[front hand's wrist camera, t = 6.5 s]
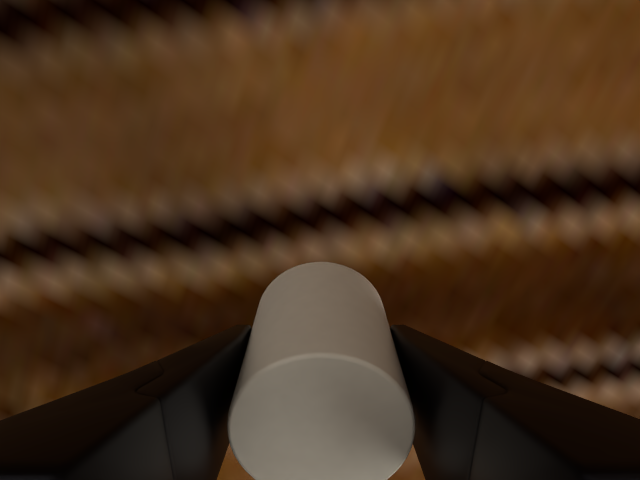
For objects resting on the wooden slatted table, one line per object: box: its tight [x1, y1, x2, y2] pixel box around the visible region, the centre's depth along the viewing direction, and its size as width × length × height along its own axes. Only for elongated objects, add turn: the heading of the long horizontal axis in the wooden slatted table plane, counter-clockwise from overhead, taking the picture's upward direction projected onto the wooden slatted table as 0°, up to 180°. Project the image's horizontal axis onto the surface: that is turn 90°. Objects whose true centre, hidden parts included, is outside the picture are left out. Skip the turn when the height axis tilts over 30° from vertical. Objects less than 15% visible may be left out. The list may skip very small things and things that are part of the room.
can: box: [227, 262, 416, 480], centre depth 11 cm, size 4×4×5 cm
